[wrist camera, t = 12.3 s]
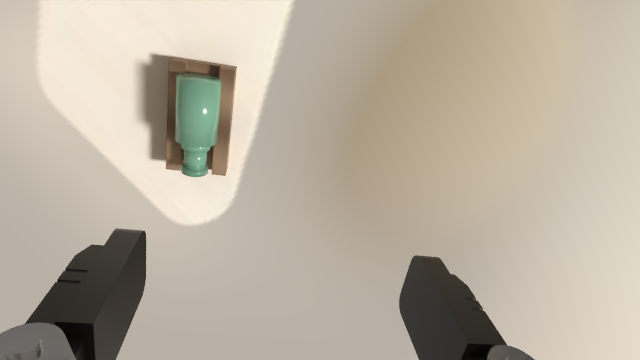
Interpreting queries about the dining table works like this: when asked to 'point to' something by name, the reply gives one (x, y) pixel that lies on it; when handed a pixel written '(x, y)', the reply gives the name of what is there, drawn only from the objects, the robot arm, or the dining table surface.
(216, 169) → the bottle rest
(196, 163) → the bottle
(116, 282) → the robot arm
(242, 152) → the dining table surface
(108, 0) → the dining table surface
